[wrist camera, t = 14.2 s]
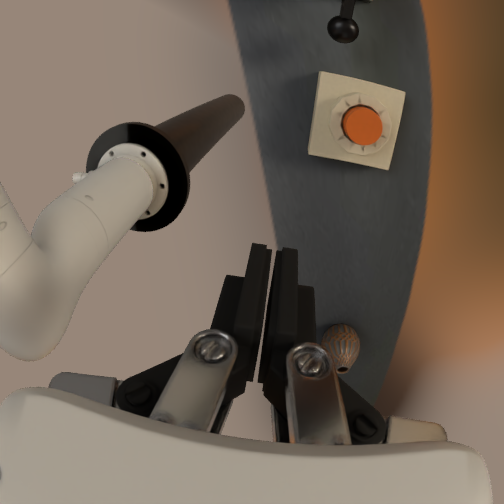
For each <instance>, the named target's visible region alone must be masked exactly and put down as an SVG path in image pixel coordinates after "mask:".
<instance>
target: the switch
mask: <svg viewBox="0 0 504 504" xmlns="http://www.w3.org/2000/svg"><path fill="white" fill-rule="evenodd" d="M354 5H355V0H342V5H341V10H340V15H339V16H335V17H333V18H332V19H331V20H330V21H329V22H328V25H327V30H328V33H329V35H330V36H331V38H332V39H334V40H335V41H337V42H340V43H350V42H353V41H354V40H355V39H356V38H357V37H358V34H359V28H358V25H357V23H356V22H355V21H354V20H353V19H352V15H353V10H354Z"/></svg>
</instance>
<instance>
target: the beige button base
mask: <svg viewBox="0 0 504 504" xmlns="http://www.w3.org/2000/svg"><path fill="white" fill-rule="evenodd" d="M404 99H405V92H403V91H400V90H397V89H393V88H390V87H386V86H383V85H379V84H376V83H372V82H368V81H364V80H360V79H356V78H351V77H347V76H342V75H338V74H333V73H327V72H322V71H320V72H319V75H318V83H317V90H316V97H315V104H314V111H313V118H312V124H311V131H310V137H309V144H308V154H309V155H315V156H320V157H326V158H332V159H337V160H342V161H347V162H352V163H357V164H362V165H367V166H371V167H376V168H380V169H384V170H389V166H390V162H391V158H392V154H393V150H394V146H395V141H396V137H397V133H398V128H399V124H400V119H401V114H402V109H403V104H404ZM355 107H365V108H368V109H370V110H372V111H373V112H375V113H376V114H377V115H378V116H379V117H380V119H381V121H382V126H383V130H382V134H381V136H380V138H379V139H378V140H377V141H376V142H375V143H373V144H371V145H359V144H357V143H355V142H353V141H352V140H351V139H350V138H349V136H348V135H347V134H346V132H345V130H344V127H343V120H344V117H345V115H346V113H347V112H348V111H349V110H351V109H352V108H355Z"/></svg>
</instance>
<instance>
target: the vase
mask: <svg viewBox="0 0 504 504" xmlns="http://www.w3.org/2000/svg"><path fill="white" fill-rule="evenodd" d="M321 346H323V347H324V348H326V349H327V350H328V351H329V352H330V354H331V355H332V357H333V360H334V363H335V368H336V372H337V373H339V374H343V373H347V372H348V371H349V370H350V367H351V365H352V364H353V363H354V362H355V360H356V359H357V357H358V354H359V350H360V342H359V337H358V335H357V333H356V332H355V330H354V329H353V328H352V327H350V326H348V325H345V324H336V325H333V326H332V327H330V328H329V329H328V330H327V331H326V332H325V333H324V335H323V338H322V342H321Z"/></svg>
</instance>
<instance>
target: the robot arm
mask: <svg viewBox="0 0 504 504" xmlns="http://www.w3.org/2000/svg"><path fill="white" fill-rule="evenodd" d="M145 153H146V154H145ZM72 179H73V183H74V184H75V185H74V186H72V187H71V188H70V189H68V190H67V191H66V192H64V193H63V194H62V195H60V196H59V197H58V198H56V199H55V200H54V201H53V202H51V203H50V204H49V205H48V206H47V207H46V208H45V209H44V210H43V211H42V212H41V214H40V215H39V216H38V219H37V220H36V222H35V224H34V227H33V230H32V233H31V236H30V234H29V233H28V231H27V229H26V227H25V226H24V224H23V222H22V220H21V219H20V217H19V215H18V213H17V211H16V209H15V208H14V206H13V204H12V202H11V200H10V198H9V196H8V195H7V193H6V191H5V189H4V188H3V186H2V184H1V183H0V348H2V349H3V350H4V351H5V352H7V353H8V354H9V355H11V356H13V357H15V358H17V359H19V360H23V361H37V360H40V359H42V358H44V357H46V356H47V355H48V354H50V353H51V352H52V351H53V350H54V349H55V347H56V346H57V345H58V344H59V342H60V340H61V339H62V337H63V335H64V333H65V331H66V329H67V327H68V325H69V322H70V320H71V317H72V314H73V312H74V309H75V307H76V304H77V302H78V300H79V298H80V296H81V294H82V292H83V290H84V288H85V287H86V285H87V284H88V282H89V280H90V279H91V278H92V276H93V274H94V273H95V272H96V271H97V269H98V268H99V267H100V265H101V264H102V263H103V261H104V260H105V259H106V258H107V256H108V255H109V254H110V253H111V251H112V250H113V249H114V248H115V246H116V245H117V244H118V243H119V241H120V240H121V239H122V238H123V237H124V235H125V234H126V233H127V232H128V230H129V229H130V228H131V227H132V226H133V225H134V223H135V222H136V221H137V220H140V219H146V218H149V217H151V216H153V215H154V214H156V213H157V212H158V211H159V210H160V209H161V207H162V206H163V205H164V203H165V201H166V199H167V197H168V192H169V180H168V175H167V172H166V169H165V167H164V165H163V163H162V162H161V160H160V159H159V158H158V156H157V155H156V154H155V153H153V152H152V151H151V150H150V149H148V148H146V147H145V146H143V145H140V144H137V143H122V144H119V145H116V146H114V147H112V148H111V149H109V150H108V151H107V152H106V153H105V154H104V155H103V156H102V158H101V160H100V162H99V164H98V168H97V169H96V170H95V171H90V172H89V173H82V172H76V173H74V175H73V178H72ZM163 184H164V185H163ZM266 247H267V245H263V244H256V243H252V247H251V251H250V255H249V260H248V264H247V269H246V274H245V277H239V276H231V275H226V277H225V280H224V284H223V287H222V291H221V294H220V297H219V301H218V304H217V307H216V311H215V315H214V318H213V321H212V325H211V328H210V329H208V330H204V331H201V332H199V333H198V334H196V335H194V337H193V338H192V339H191V340H190V342H189V344H188V346H187V348H186V349H185V351H184V353H182V354H181V355H178V356H176V357H174V358H172V359H170V360H168V361H165V362H164V363H161V364H159V365H157V366H154V367H152V368H150V369H148V370H146V371H143V372H141V373H139V374H136V375H134V376H132V377H130V378H128V379H126V380H125V381H120V380H117V379H116V378H114V377H104V376H94V375H86V374H78V373H70V372H62V373H60V374H57V375H56V376H55V377H53V379H52V380H51V382H50V384H49V387H48V388H45V387H29V388H22V389H19V390H16V391H14V392H12V393H11V394H10V395H8V397H7V398H6V399H5V400H4V401H3V402H2V404H1V405H0V504H493V496H492V488H491V481H490V477H489V473H488V469H487V466H486V463H485V461H484V459H483V457H482V456H481V454H480V453H479V452H477V451H476V450H475V449H473V448H471V447H469V446H466V445H463V444H460V443H456V442H450V441H447V435H446V432H445V430H444V428H443V427H442V426H441V425H439V424H437V423H433V422H426V421H420V420H413V419H408V418H402V417H397V416H392V415H390V416H389V417H384V416H382V415H381V414H380V413H379V412H378V411H377V410H376V409H375V408H374V407H373V406H371V405H370V404H369V403H368V402H367V401H366V400H364V399H363V398H362V397H361V396H360V395H359V394H358V393H356V392H355V391H354V390H353V389H352V388H351V387H350V386H348V385H347V384H346V383H345V382H344V381H343V380H342V379H341V378H339V377H338V376H337V372H336V368H335V363H334V360H333V357H332V355H331V354H330V352H329V351H328V350H327V349H326V348H324V347H323V346H321V345H318V344H316V321H315V299H314V288H313V287H310V286H302V285H298V250H297V249H291V248H284V247H283V249H282V251H278V250H277V251H276V257H275V263H274V269H273V275H272V281H271V287H270V293H269V298H268V305H267V312H266V320H265V328H264V337H263V345H262V352H261V360H260V367H259V375H258V383H263V390H262V391H263V392H264V396H265V397H266V398H267V399H268V400H269V401H270V403H271V418H272V432H273V442H269V441H260V440H252V439H244V438H237V437H231V436H225V435H221V432H222V430H223V427H224V424H225V422H226V419H227V417H228V414H229V411H230V409H231V406H232V403H233V399H234V398H236V397H238V396H239V395H241V394H243V393H244V392H245V387H246V381H250V382H253V377H254V371H255V367H256V361H257V356H258V350H259V345H260V339H261V333H262V327H263V319H264V312H265V302H266V296H267V288H268V279H269V271H270V263H271V254H272V250H271V249H266Z"/></svg>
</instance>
